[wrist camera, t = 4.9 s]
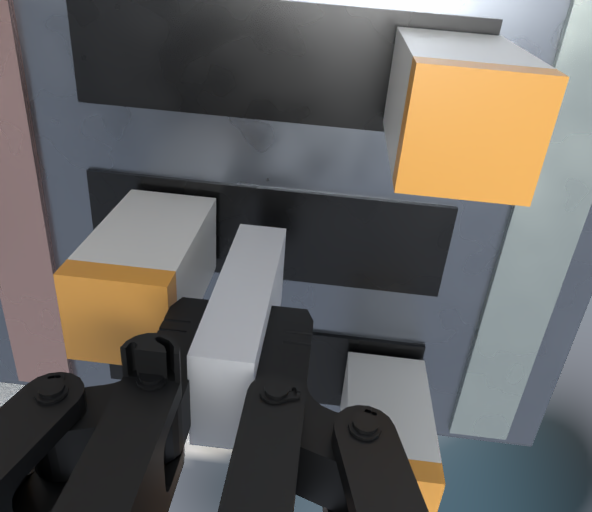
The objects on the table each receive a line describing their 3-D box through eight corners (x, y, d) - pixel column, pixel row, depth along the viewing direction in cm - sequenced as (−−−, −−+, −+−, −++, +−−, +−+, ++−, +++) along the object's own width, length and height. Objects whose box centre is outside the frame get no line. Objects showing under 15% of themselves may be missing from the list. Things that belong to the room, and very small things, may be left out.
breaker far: (340, 404, 23) (336, 529, 18) (348, 351, 22) (346, 472, 17) (412, 412, 23) (428, 542, 18) (424, 360, 22) (445, 484, 17)
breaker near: (382, 121, 18) (394, 192, 12) (397, 26, 16) (416, 63, 11) (479, 131, 17) (530, 206, 12) (502, 35, 16) (569, 76, 11)
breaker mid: (136, 258, 21) (67, 358, 16) (131, 189, 19) (52, 274, 14) (215, 267, 21) (171, 371, 16) (216, 198, 19) (167, 287, 14)
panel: (17, 355, 27) (-8, 385, 25) (-79, -78, 18) (-128, -81, 16) (520, 416, 26) (533, 451, 24) (680, -15, 17) (719, -10, 15)
